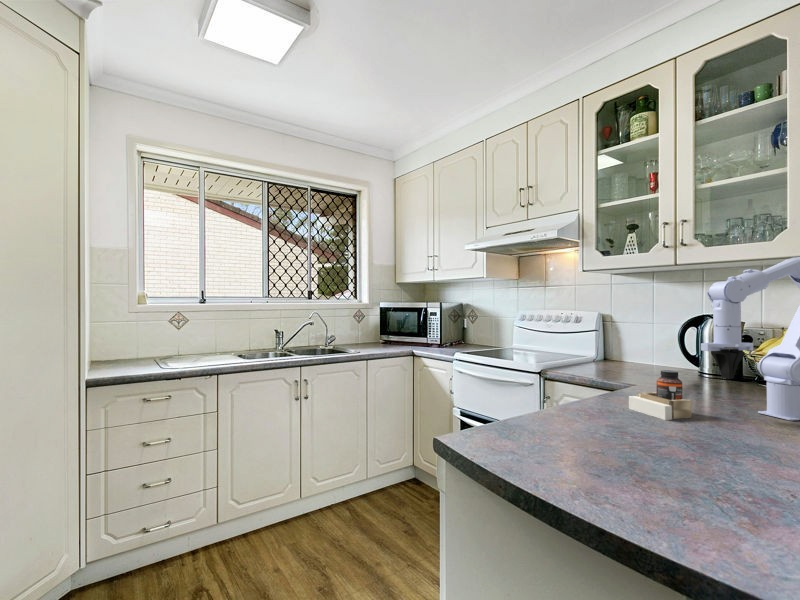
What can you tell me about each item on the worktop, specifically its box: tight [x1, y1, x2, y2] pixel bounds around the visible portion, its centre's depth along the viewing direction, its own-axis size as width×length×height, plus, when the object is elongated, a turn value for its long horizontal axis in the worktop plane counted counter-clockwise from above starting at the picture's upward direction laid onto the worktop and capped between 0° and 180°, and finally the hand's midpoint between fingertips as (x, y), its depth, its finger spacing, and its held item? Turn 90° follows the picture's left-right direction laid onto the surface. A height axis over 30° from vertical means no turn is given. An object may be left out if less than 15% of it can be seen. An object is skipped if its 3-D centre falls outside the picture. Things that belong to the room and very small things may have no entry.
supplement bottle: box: [655, 369, 684, 400], centre depth 111 cm, size 6×6×11 cm
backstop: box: [628, 395, 673, 421], centre depth 110 cm, size 2×12×4 cm, turn 13°
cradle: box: [636, 391, 692, 420], centre depth 111 cm, size 7×10×4 cm
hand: (727, 378), depth 108 cm, fingers closed
